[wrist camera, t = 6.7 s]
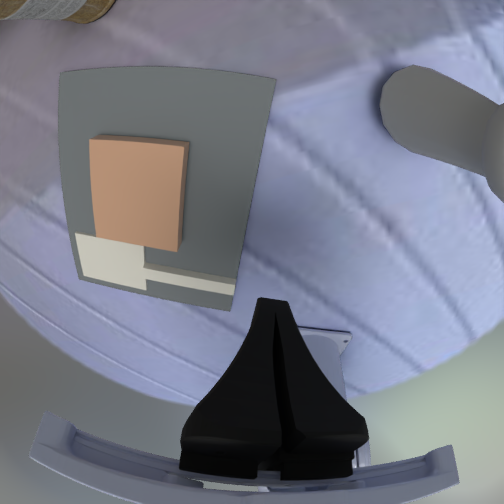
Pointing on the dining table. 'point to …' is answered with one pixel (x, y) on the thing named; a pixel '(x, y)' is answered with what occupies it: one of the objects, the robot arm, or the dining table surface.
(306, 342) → the robot arm
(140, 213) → the tile
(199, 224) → the mat
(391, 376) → the dining table surface
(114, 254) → the turner
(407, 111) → the salt shaker
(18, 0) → the sprinkles bottle
